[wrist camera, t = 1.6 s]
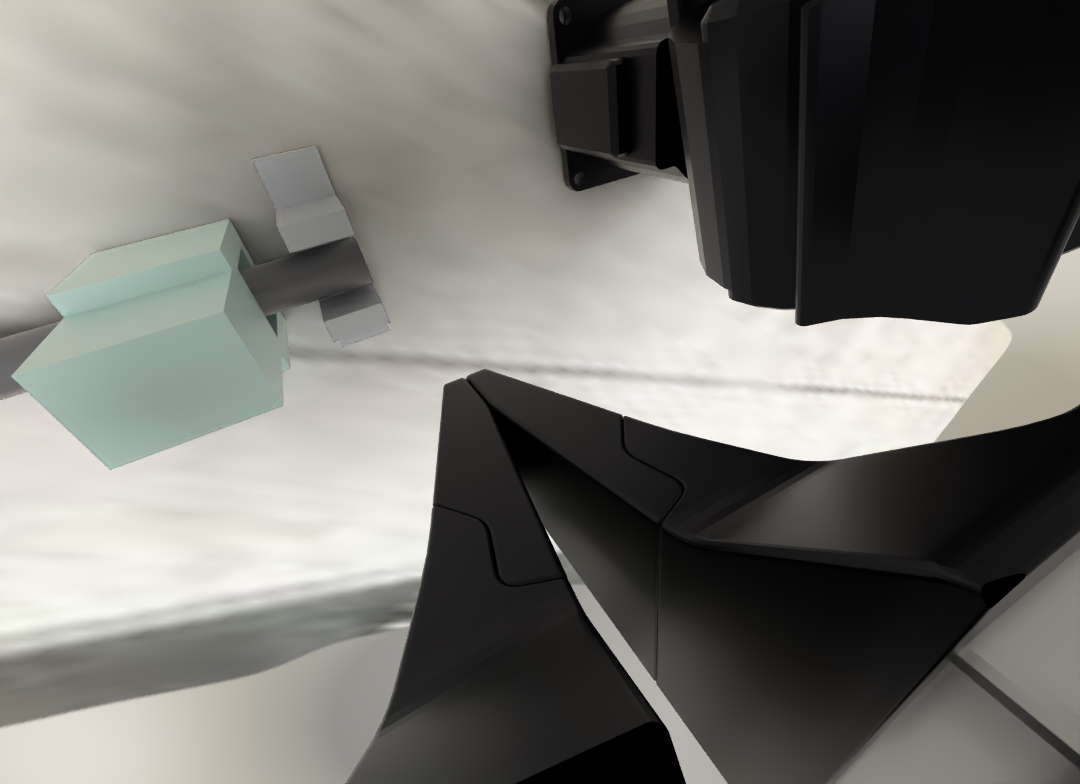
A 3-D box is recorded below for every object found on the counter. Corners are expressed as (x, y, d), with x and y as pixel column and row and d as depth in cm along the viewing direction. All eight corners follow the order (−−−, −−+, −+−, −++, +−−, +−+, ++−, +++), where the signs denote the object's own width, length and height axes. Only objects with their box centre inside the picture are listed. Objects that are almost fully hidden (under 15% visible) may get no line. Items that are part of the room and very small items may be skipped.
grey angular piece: (315, 145, 15) (327, 160, 12) (387, 324, 20) (410, 371, 16) (-519, 331, 10) (-887, 443, 7) (-178, 520, 15) (-309, 645, 11)
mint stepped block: (229, 218, 15) (207, 287, 10) (286, 322, 18) (294, 422, 12) (92, 253, 14) (-16, 351, 9) (173, 358, 17) (127, 486, 11)
